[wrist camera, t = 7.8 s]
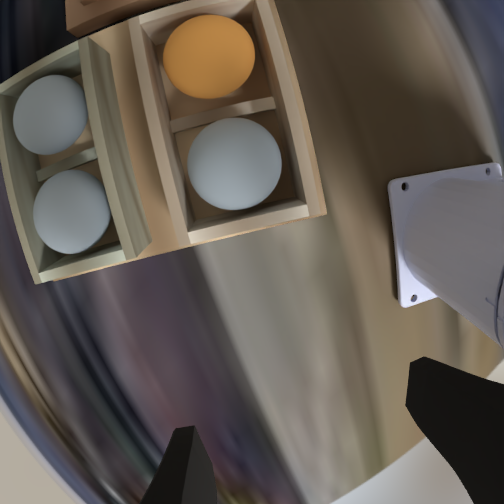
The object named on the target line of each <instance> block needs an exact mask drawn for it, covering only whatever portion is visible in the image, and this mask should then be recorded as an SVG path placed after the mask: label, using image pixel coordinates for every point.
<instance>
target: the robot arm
mask: <svg viewBox="0 0 504 504" xmlns="http://www.w3.org/2000/svg"><path fill="white" fill-rule="evenodd" d="M486 169H487V173H486ZM403 183H405V184H406V188H405V190H402V188H401V186H402V184H403ZM388 195H389V202H390V209H391V217H392V226H393V235H394V245H395V257H396V270H397V286H398V302H399V304H400V305H401V306H402V307H404V308H405V307H409V306H412V305H415V304H418V303H421V302H424V301H427V300H430V299H433V298H435V297H439V298H441V299H442V300H443V301H445V302H446V303H447V304H448V305H450V306H451V307H452V308H454V309H455V310H456V311H457V312H459V313H460V314H461V315H463V316H464V317H465V318H466V319H468V320H469V321H470V322H471V323H473V324H474V325H475V326H476V327H478V328H479V329H480V330H481V331H483V332H484V333H485V334H486V335H488V336H489V337H490V338H491V339H492V340H494V341H495V342H496V343H497V344H498V345H500V346H501V347H502V348H504V178H502V174H501V167H500V165H499V164H498V163H495V162H492V163H486V164H479V165H473V166H466V167H460V168H454V169H448V170H442V171H436V172H430V173H425V174H419V175H413V176H408V177H402V178H397V179H393V180H391V181H390V182H389V184H388ZM413 295H414V298H413V299H412V300H410V299H411V297H412V296H413ZM405 406H406V407H407V409H408V411H409V412H410V414H411V416H412V418H413V419H414V421H415V422H416V424H417V426H418V427H419V428H420V429H421V431H422V432H423V433H424V434H425V436H426V437H427V438H428V439H429V440H430V442H431V443H432V444H433V445H434V446H435V448H436V449H437V450H438V451H439V452H440V454H441V455H442V456H443V457H444V458H445V459H446V461H447V462H448V463H449V464H450V466H451V467H452V468H453V470H454V471H455V472H456V474H457V475H458V477H459V479H460V480H461V482H462V483H463V485H464V487H465V489H466V490H467V492H468V494H469V496H470V498H471V499H472V501H473V503H474V504H504V384H501V383H498V382H494V381H490V380H487V379H484V378H481V377H478V376H475V375H473V374H470V373H467V372H464V371H462V370H459V369H456V368H454V367H451V366H449V365H446V364H444V363H441V362H438V361H436V360H433V359H430V358H427V357H422V358H420V359H417V360H415V361H413V362H410V368H409V378H408V388H407V396H406V404H405ZM139 504H217V490H216V484H215V477H214V472H213V466H212V462H211V460H210V458H209V456H208V454H207V452H206V450H205V447H204V445H203V443H202V441H201V439H200V437H199V434H198V432H197V430H196V428H195V426H188V427H182V428H176V429H175V430H174V431H173V434H172V437H171V439H170V442H169V444H168V447H167V449H166V451H165V454H164V456H163V458H162V461H161V463H160V465H159V467H158V469H157V471H156V473H155V475H154V478H153V480H152V482H151V484H150V485H149V487H148V489H147V491H146V493H145V494H144V496H143V498H142V500H141V501H140V503H139Z"/></svg>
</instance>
